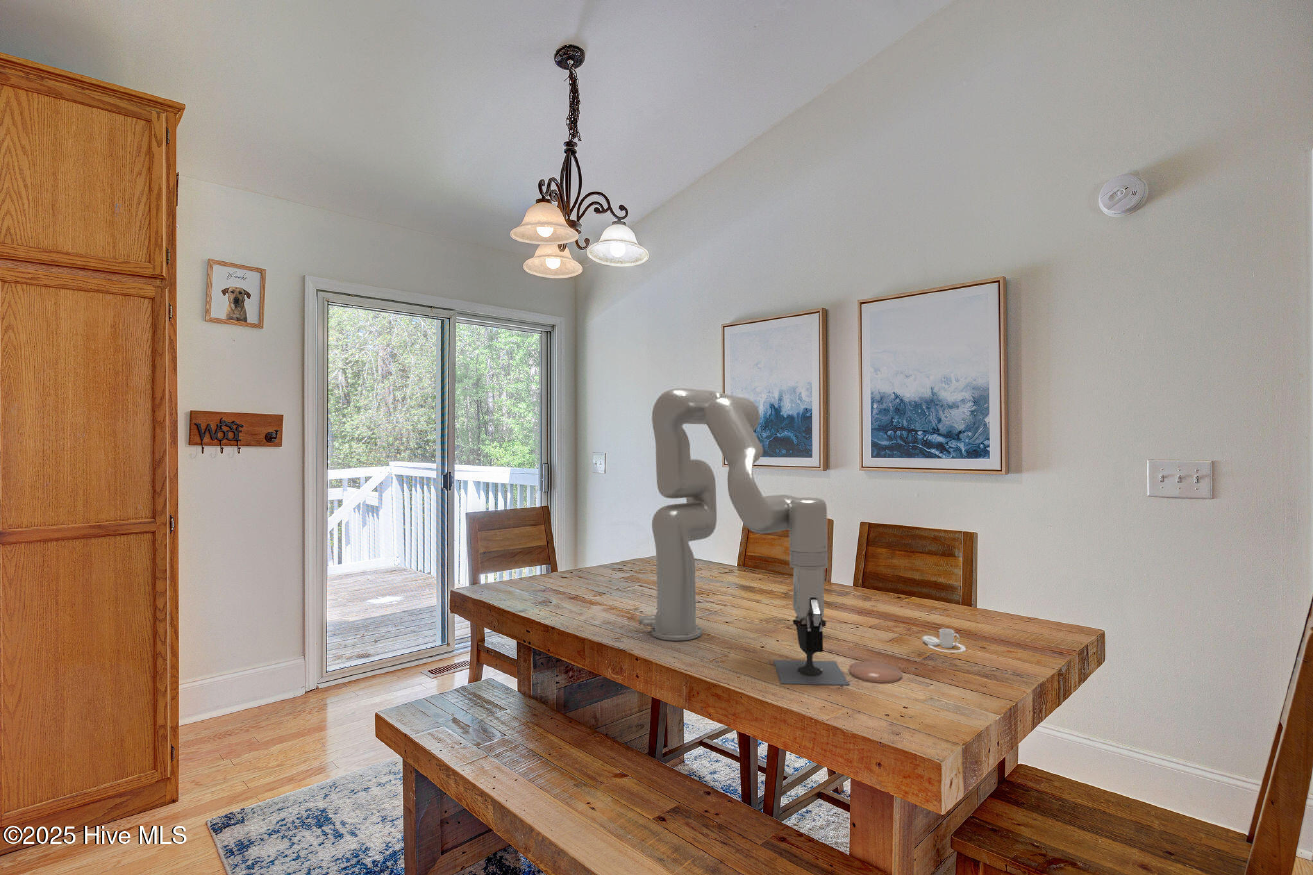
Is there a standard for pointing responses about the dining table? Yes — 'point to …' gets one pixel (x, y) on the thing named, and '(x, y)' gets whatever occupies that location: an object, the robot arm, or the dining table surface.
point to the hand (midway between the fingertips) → (810, 643)
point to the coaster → (875, 672)
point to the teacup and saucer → (943, 640)
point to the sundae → (801, 633)
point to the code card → (792, 676)
